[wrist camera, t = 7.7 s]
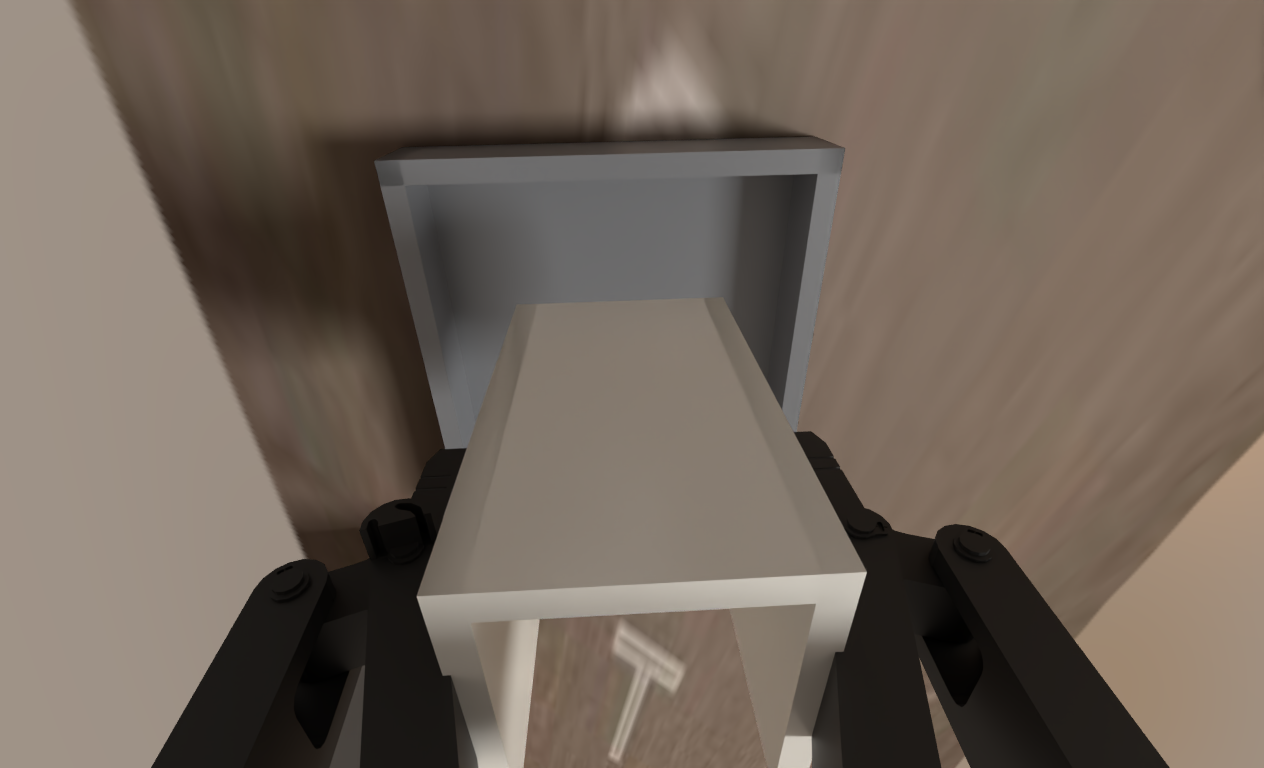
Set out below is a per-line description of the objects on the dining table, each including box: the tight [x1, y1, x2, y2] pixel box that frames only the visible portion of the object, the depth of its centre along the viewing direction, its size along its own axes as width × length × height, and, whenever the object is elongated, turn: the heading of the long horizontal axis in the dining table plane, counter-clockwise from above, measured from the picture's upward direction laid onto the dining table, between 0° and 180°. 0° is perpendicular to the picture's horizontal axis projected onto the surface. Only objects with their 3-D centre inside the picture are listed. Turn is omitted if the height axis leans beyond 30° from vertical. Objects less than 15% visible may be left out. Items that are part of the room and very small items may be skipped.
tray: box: [374, 136, 845, 449], centre depth 24 cm, size 18×16×3 cm
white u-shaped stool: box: [417, 297, 867, 768], centre depth 13 cm, size 6×6×10 cm
